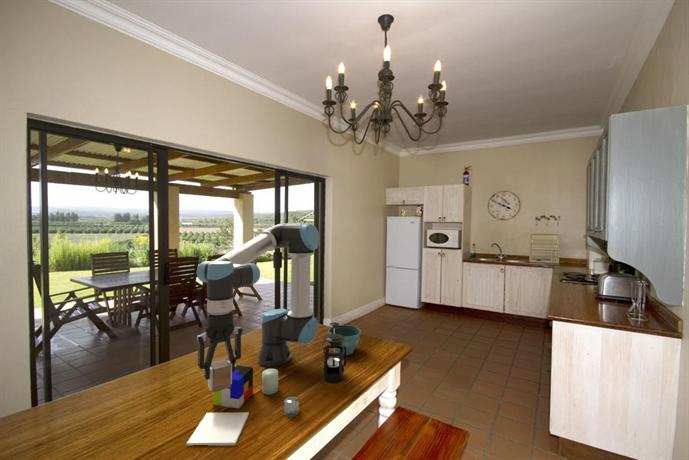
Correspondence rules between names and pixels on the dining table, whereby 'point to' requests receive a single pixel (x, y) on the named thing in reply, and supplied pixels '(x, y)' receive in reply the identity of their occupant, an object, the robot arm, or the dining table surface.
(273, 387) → the pale green egg
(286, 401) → the grey tin
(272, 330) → the robot arm
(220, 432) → the plate
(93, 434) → the dining table surface
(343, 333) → the flower pot
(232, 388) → the puzzle toy
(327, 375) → the french press
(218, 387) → the walnut block
